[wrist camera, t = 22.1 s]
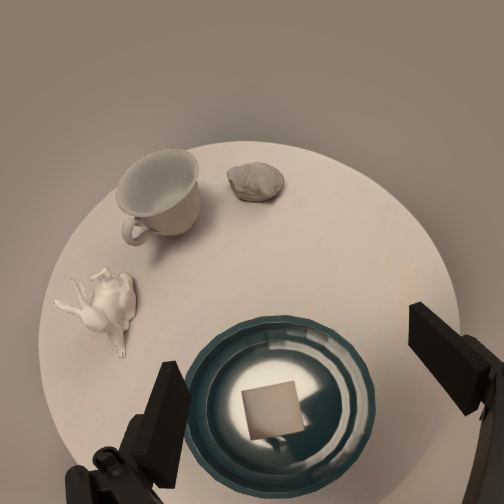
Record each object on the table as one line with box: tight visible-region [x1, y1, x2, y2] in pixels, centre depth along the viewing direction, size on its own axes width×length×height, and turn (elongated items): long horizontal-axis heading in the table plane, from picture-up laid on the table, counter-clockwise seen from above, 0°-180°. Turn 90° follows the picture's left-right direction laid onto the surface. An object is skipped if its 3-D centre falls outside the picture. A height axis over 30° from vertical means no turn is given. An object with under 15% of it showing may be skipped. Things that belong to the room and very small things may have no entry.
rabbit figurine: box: [54, 268, 136, 358], centre depth 36 cm, size 12×8×10 cm, turn 170°
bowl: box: [184, 315, 376, 499], centre depth 29 cm, size 20×20×6 cm
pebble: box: [227, 162, 284, 201], centre depth 45 cm, size 9×8×5 cm
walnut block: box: [241, 381, 305, 441], centre depth 26 cm, size 4×4×10 cm
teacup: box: [116, 148, 201, 246], centre depth 41 cm, size 12×15×10 cm
